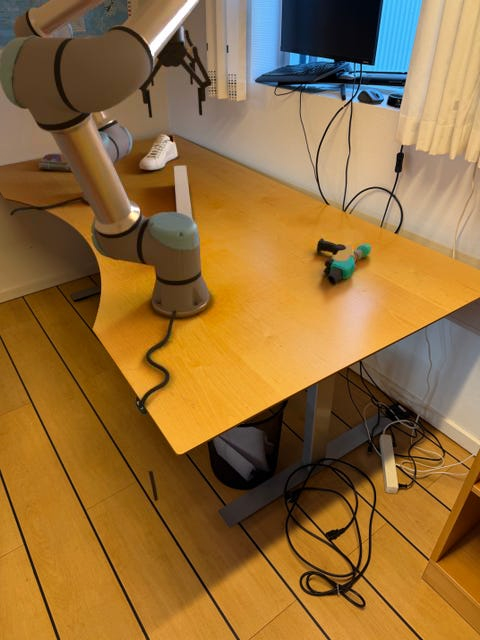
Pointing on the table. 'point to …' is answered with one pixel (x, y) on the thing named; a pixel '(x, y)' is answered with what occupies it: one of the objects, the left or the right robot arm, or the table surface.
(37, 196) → the table surface
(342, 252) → the toy gun
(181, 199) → the beam
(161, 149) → the sneaker
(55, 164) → the toy gun
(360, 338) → the table surface
